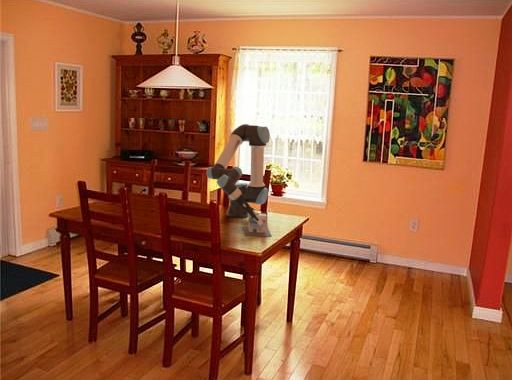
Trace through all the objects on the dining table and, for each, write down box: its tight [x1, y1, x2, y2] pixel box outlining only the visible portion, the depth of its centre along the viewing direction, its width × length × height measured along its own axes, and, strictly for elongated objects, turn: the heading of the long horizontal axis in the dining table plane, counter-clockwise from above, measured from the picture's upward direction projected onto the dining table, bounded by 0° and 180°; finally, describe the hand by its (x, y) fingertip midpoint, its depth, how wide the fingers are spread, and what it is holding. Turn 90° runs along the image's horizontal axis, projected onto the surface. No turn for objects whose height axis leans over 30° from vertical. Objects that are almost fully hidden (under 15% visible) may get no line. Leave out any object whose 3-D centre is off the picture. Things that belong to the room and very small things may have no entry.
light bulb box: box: [247, 212, 268, 233], centre depth 294 cm, size 11×7×11 cm, turn 97°
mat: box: [242, 226, 273, 238], centre depth 296 cm, size 20×16×1 cm
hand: (260, 221), depth 295 cm, fingers open, 13 cm apart
